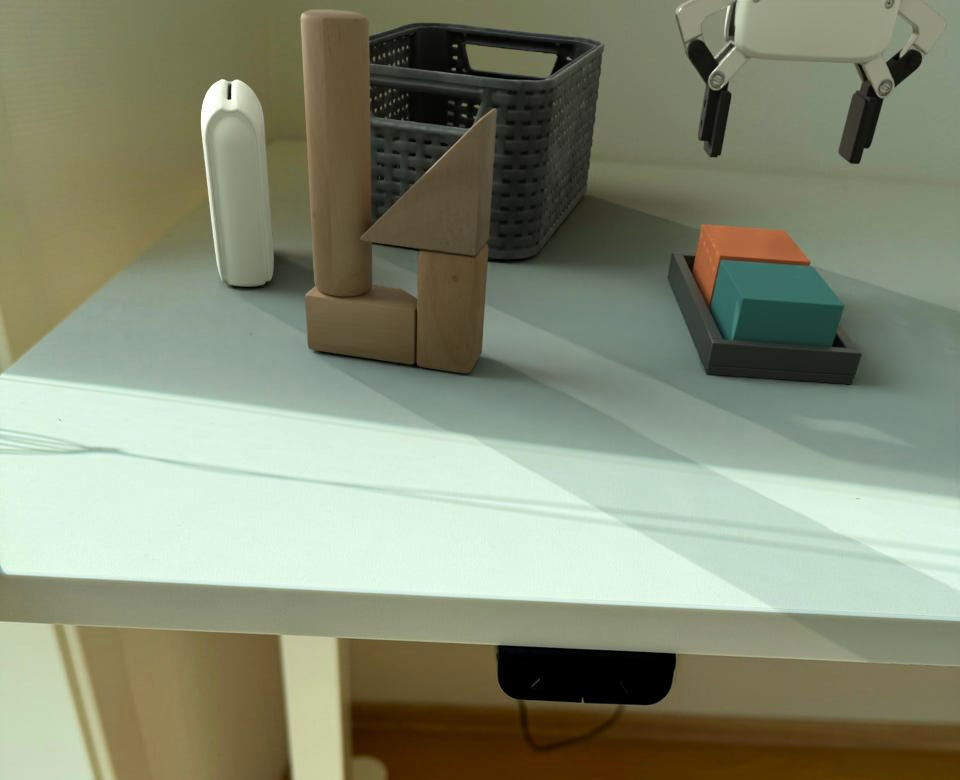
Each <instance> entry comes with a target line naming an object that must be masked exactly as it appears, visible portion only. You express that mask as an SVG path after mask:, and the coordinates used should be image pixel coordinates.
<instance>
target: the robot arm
mask: <svg viewBox="0 0 960 780" xmlns="http://www.w3.org/2000/svg"><path fill="white" fill-rule="evenodd" d="M723 9H726V14H725V20H724V29H723V36H724V40H725V41H726V43H725V44H724V45H723V47H722V48H721V49H720V50H719V51H718V52H717V53H716V54H715V55H713V53H712V52H711V50H710V49H709V47H708V46H707V44H706V42H705V39H704V33H703V30H702V25H703V22H704V21H705V19H707V18H709V17H710V16H712V15H714V14H716V13H718V12H720V11H722V10H723ZM674 16H675V21H676V24H677V27H678V31H679V34H680V37H681V41H682V44H683V47H684V54H685V56H686V57H687V59H688V60H689V62H690V63H691V65H692V66H693V68H694V69H695V70H696V72H697V73H698V75H699V76H700V78H701V79H702V82H703V83H704V84H705V86H704V87H705V88H704V94H703V100H702V105H701V112H700V118H699V125H698V129H697V130H698V131H697V139H698V141H699V142H703V150H704V152H705V153H706V155H707V156H708V157H709V158H715V159H716V158H718V156H721V155H722V152H723V145H724V140H725V135H726V129H727V125H728V124H727V123H728V118H729V114H730V108H731V103H732V93H731V92H730V91H729V89H728V88H729V84H730V81H731V80H732V78H734V76H736V74H737V73H738V72H739V71H740V70H741V69H742V68H743V67H744V66H745V65H746V64H747V63H748V62H749V60H751V58H752V59H758V60H767V61H768V60H771V61H788V62H789V61H790V62H810V63H814V62H815V63H829V64H831V63H833V64H852V65H853V66H854V68H855V71H856V73H857V75H858V77H859V79H860V81H861V84H860V89H859V90H855V92H853V94H852V95H851V99H850V103H849V107H848V111H847V115H846V119H845V123H844V126H843V131H842V134H841V138H840V143H839V146H838V152H837V153H838V155H839V156H841V158H843V159H844V160H846V162H848V163H849V164H850V165H859V164H860V163H861V160H862V157H863V154H864V151H865V149H869V148H870V147H871V146H872V143H873V139H874V136H875V132H876V129H877V125H878V122H879V117H880V115H881V110H882V107H883V104H884V100H885V99H887V98H888V97H890V96H891V95H892V94H893V92H894V90H895V88H897V86H899V85H900V84H901V83H902V82H904V81H905V80H906V79H907V78H908V77H910V76H911V75H913V73H914V72H915V71H917V70H918V69H919V68H920V67H921V65H922V62H923V59H924V58H925V56H926V55H928V54H929V52H930V51H931V50H932V48H933V47H934V46H935V45H936V44H937V42H938V40H939V39H940V38H941V36H942V35H943V34H944V32H945V31H946V30H947V25H948V23H947V22H948V21H947V19H946V18H945V17H943V15H941V14H940V13H939V12H938V11H936V10H935V9H933V7H931V6H930V5H929V4H928V3H926V2H925V1H924V0H687V1H685V2H683V3H681V4H679V5H678V6H677V7H676V9H675V13H674ZM898 17H900V18H901V19H902V20H903V21H905V22H906V24H907V23H908V24H909V25H910V26H911V28H912V29H911V30H912V33H911V36H910V37H909V38H908V40H907V43H906V44H905V45H904V46H903V47H902V48H901V49H900V50H898V51H897V52H896V53H895V54H894V55H892V57H891V58H889V59H888V60H887V61H886V60H885V57H884V55H883V54H884V53H885V52H886V50H887V49H888V46H889V44H890V42H891V39H892V35H893V33H894V29H895V26H896V21H897V19H898Z"/></svg>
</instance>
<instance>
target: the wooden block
mask: <svg viewBox="0 0 960 780" xmlns="http://www.w3.org/2000/svg"><path fill="white" fill-rule="evenodd" d="M300 34H301V35H300V36H301V54H302V55H301V56H302V72H303V74H302V75H303V91H304V92H303V93H304V110H305V111H304V112H305V128H306V129H305V131H306V147H307V148H306V149H307V166H308V167H307V170H308V171H307V172H308V190H309V202H310V203H309V209H310V225H311V228H310V229H311V244H312V245H311V247H312V265H313V281H314V282H313V283H314V287H312V288H311V289H310V290H309V291H307V293H305V296H304V301H305V302H304V303H305V304H304V305H305V321H306V339H307V347H308V349H309V350H312V351H318V352H325V353H331V354H332V353H333V354H336V355H337V354H338V355H344V356H352V357H358V358H363V359H365V358H366V359H370V360H378V361H383V362H384V361H385V362H391V363H397V364H404V365H411V366H412V365H414V364H416V365H417V366H418V367H420V368H424V369H425V368H427V369H433V370H439V371H444V372H445V371H446V372H453V373H459V374H465V375H466V374H470V373H471V372H472V370H473V369H474V366H475V365H476V363H477V361H478V360H479V358H480V357H481V355H482V353H483V341H484V340H483V339H484V325H485V323H484V322H485V309H486V295H487V294H486V293H487V277H488V263H489V262H488V261H489V260H488V245H487V243H486V242H487V240H488V239H489V228H490V212H491V197H492V181H493V165H494V149H495V134H496V118H497V110H496V109H492V110H491V111H490V112H488V113H487V114H486V115H484V116H483V117H482V118H480V119H479V120H478V121H477V122H476V123H475V124H474V125H473V126H472V127H471V128H470V129H469V130H468V131H467V132H466V133H465V134H464V135H463V136H462V137H461V138H460V139H459V140H458V141H457V142H456V143H455V144H454V145H453V146H452V147H451V148H450V149H449V150H448V151H447V152H446V153H445V154H444V155H443V156H442V157H441V158H440V159H439V160H438V161H437V162H436V163H435V164H434V165H433V166H432V167H431V168H430V169H429V170H428V171H427V172H426V173H425V174H424V175H423V176H422V177H421V178H420V179H419V180H418V181H417V182H416V183H415V184H414V185H413V186H412V187H411V188H410V189H409V190H408V191H407V192H406V193H405V194H404V195H403V196H402V197H401V198H400V199H399V200H398V201H397V202H396V203H395V204H394V205H393V206H392V207H391V208H390V209H389V210H388V211H387V212H386V213H385V214H384V215H383V216H382V217H381V218H380V219H378V220H377V221H376V222H375V223H374V224H373V225H372V217H371V142H370V101H371V98H370V89H371V86H370V68H369V62H370V59H369V35H370V22H369V19H368V17H367V16H366V15H364V14H363V13H360V12H357V11H351V10H341V9H326V8H325V9H323V8H321V9H319V8H318V9H308V10H306V11H303V12H301V16H300ZM373 243H374V244H380V245H381V244H382V245H389V246H396V247H402V246H403V247H402V248H409V247H411V248H410V249H415V248H419V249H418V253H417V293H416V295H417V297H416V296H414V295H412V294H411V293H409V292H408V291H406V290H405V289H403V288H399V287H391V286H386V285H385V286H384V285H378V284H377V285H376V284H373Z"/></svg>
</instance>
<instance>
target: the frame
mask: <svg viewBox="0 0 960 780" xmlns="http://www.w3.org/2000/svg"><path fill="white" fill-rule="evenodd" d="M695 257H696V252H685V251H684V252H683V251H672V252H671V256H670V260H669V261H670V262H669V266H668V273H667V277H666V278H667V280H668V283H669V285H670V288H671V291H672V293H673V295H674V297H675V300H676V302H677V303H676V304H677V305H678V308H679V310H680V312H681V315H682V318H683V320H684V322H685V325H686V327H687V330H688V333H689V335H690V337H691V340H692V342H693V344H694V347H695V350H696V352H697V355H698V356H699V359H700V361H701V364H702V367H703V370H704V371H705V374H706V375H714V376H715V375H716V376H728V377H743V378H744V377H746V378H758V379H759V378H760V379H772V380H787V381H800V382H801V381H802V382H813V383H814V382H816V383H828V384H829V383H830V384H840V385H841V384H845V385H853V383H854V380H855V376H856V373H857V371H858V368H859V365H860V362H861V358H862V356H863V353H862V351H861V350H860V349H859V347H857V345H856V344H855V342H854V341H853V340H852V338H851V337H850V336H849V335H848V333H847V331H845V329H844V328H843V326H842V325H841V324H840V323H839V325H838V328H837V331H836V335H835V338H834V341H833V344H832V347H824V346H810V345H795V344H781V343H767V342H753V341H739V340H725V339H723V338H722V336H721V334H720V332H719V330H718V328H717V326H716V324H715V321H714V319H713V317H712V315H711V313H710V311H709V309H708V307H707V305H706V303H705V300H704V298H703V296H702V294H701V292H700V290H699V288H698V286H697V284H696V282H695V279H694V277H693V275H692V272H693V267H694V262H695Z"/></svg>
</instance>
